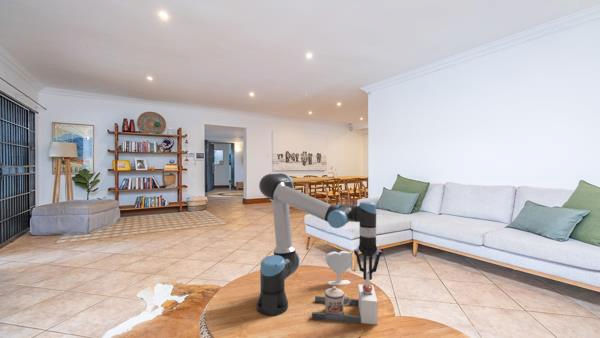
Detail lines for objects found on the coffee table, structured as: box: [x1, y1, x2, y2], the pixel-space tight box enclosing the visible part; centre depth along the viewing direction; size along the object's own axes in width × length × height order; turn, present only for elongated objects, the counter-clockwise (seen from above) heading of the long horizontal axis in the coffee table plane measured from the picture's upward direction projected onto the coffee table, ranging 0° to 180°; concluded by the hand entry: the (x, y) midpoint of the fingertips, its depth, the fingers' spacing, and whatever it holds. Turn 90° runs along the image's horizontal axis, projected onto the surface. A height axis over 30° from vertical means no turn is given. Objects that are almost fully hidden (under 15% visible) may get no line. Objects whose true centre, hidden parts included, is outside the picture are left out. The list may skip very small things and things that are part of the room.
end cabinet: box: [357, 283, 379, 325], centre depth 125 cm, size 7×16×10 cm, turn 172°
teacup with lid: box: [324, 285, 351, 315], centre depth 127 cm, size 12×9×12 cm
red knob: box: [362, 284, 372, 295], centre depth 124 cm, size 4×4×7 cm
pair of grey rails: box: [311, 295, 362, 324], centre depth 127 cm, size 22×16×2 cm
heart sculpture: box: [325, 250, 354, 286], centre depth 158 cm, size 16×5×18 cm, turn 101°
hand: (367, 286), depth 124 cm, fingers closed
